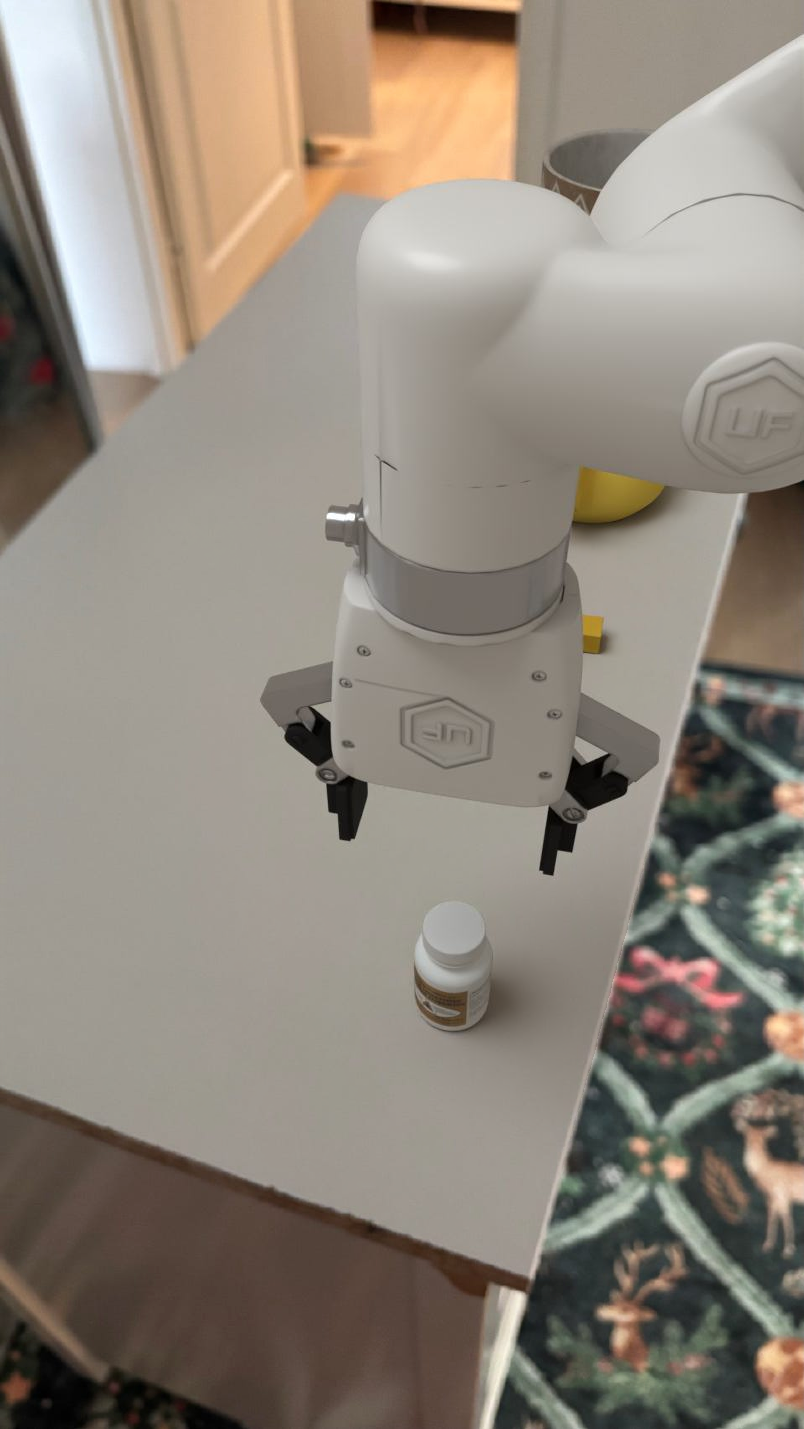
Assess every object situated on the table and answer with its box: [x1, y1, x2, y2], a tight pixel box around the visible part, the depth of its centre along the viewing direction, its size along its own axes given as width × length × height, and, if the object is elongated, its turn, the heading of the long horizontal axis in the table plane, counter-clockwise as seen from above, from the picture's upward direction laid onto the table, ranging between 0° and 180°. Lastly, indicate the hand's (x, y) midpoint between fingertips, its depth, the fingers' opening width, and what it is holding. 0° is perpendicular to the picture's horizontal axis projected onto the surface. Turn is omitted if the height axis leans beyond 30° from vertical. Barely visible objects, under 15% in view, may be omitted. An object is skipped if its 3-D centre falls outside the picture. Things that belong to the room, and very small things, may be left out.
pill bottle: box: [413, 900, 494, 1032], centre depth 61 cm, size 4×4×8 cm
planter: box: [540, 127, 657, 217], centre depth 119 cm, size 19×19×16 cm
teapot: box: [572, 467, 666, 524], centre depth 97 cm, size 20×18×11 cm
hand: (450, 834), depth 52 cm, fingers open, 9 cm apart
